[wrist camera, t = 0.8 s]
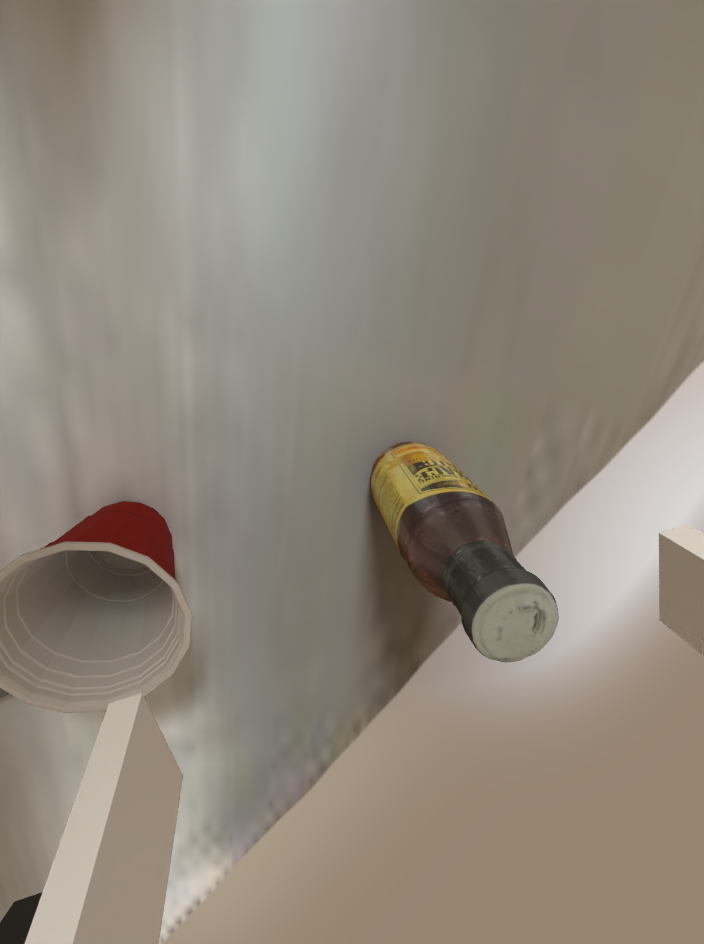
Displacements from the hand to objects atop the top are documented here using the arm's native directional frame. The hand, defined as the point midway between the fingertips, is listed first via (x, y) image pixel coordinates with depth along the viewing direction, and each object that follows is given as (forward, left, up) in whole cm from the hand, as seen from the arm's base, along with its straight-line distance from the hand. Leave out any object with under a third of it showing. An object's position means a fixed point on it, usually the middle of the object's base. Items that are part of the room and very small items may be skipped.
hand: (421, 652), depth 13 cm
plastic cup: (+2, -16, -27) cm, 31 cm away
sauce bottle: (+8, +4, -27) cm, 28 cm away
